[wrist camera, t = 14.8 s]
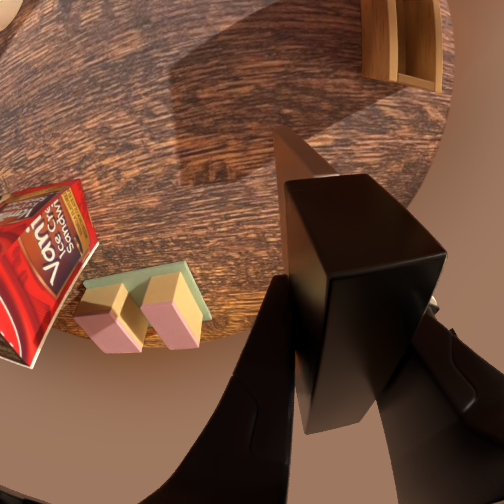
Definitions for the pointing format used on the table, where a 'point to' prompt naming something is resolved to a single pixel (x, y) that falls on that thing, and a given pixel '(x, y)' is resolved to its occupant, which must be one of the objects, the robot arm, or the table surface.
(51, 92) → the table surface
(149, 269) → the cake plate
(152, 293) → the cake slice
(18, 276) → the ice cream box
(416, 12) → the knife holder
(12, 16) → the cup
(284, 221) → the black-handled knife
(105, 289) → the cake
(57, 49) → the table surface
